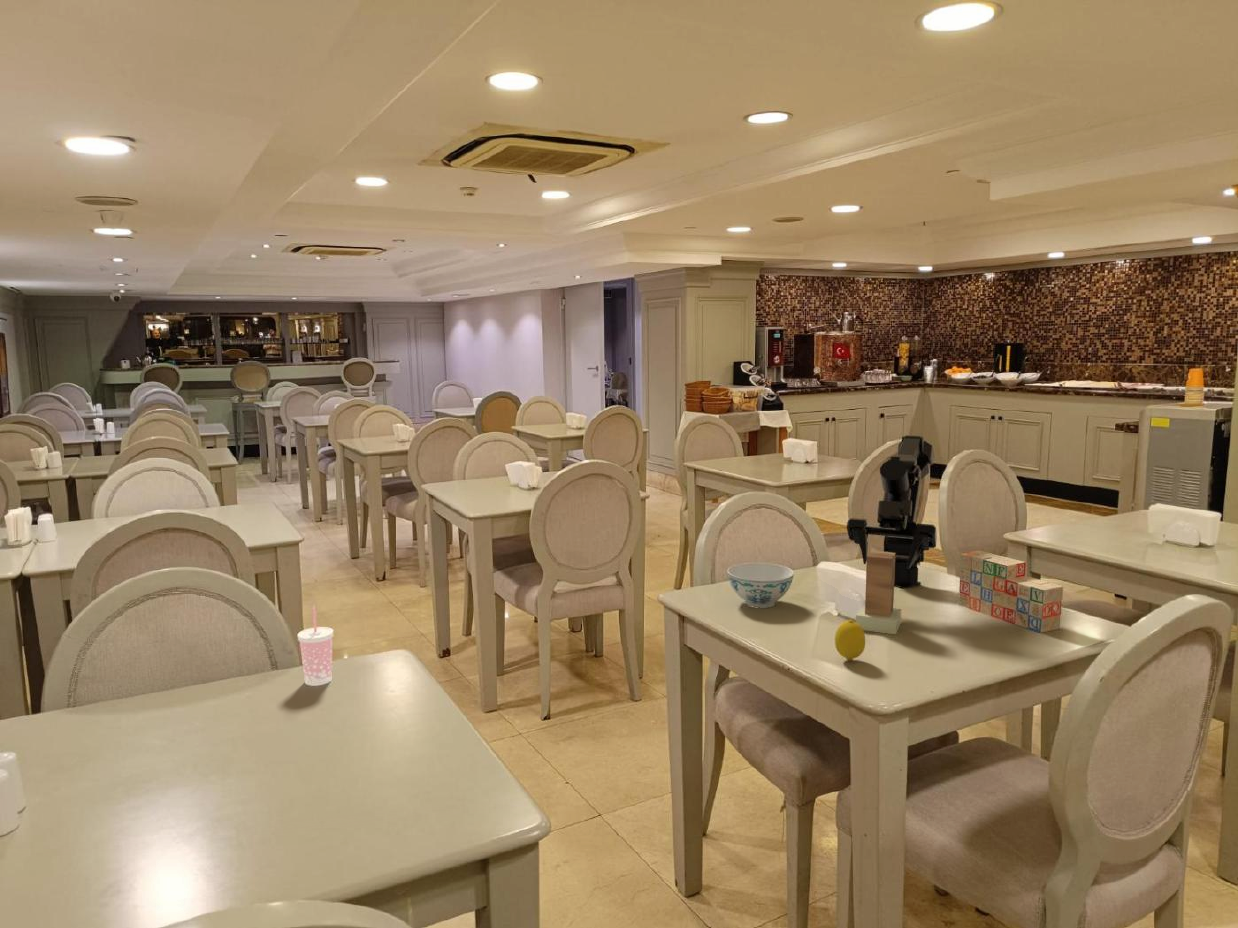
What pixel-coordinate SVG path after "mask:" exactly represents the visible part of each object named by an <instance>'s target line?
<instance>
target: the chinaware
mask: <svg viewBox="0 0 1238 928" xmlns="http://www.w3.org/2000/svg"><path fill="white" fill-rule="evenodd" d="M726 571H727V577H728V580H729V584H730V586H731V588H732V589H733V591H734V592H735V594H737V595H738V596H739V598H741V600H744V604H745V605H746V604H747V606H748V605H749V606H748V607H750V606H753V607H752V608H754V607H760V608H759V609H766V608H765V607H769V608H772V607H774V606H775V605H776V602H778V601H779V600H780V599H782V598H783V596H785V595H786V593H787V592H788V591H789V590H790V587H791V585H792V583H793V579H794V574H795V572H794V570H793V569H791V568H789V567H787V566H784V565H780V564H776V563H775V564H774V563H766V562H744V563H739V564H735V565H732V566H730V567H728V569H727V570H726ZM774 604H775V605H774ZM773 605H774V606H773ZM771 606H772V607H771Z"/></svg>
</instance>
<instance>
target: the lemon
mask: <svg viewBox="0 0 1238 928" xmlns="http://www.w3.org/2000/svg"><path fill="white" fill-rule="evenodd" d="M834 644H835V648H836V651H837V652H838V654H839V655H840V656H842V657H843V658H845V659H846V660H847V661H848V662H851V661H853V660H854V659H857V658H858V657H860V656H861V655H862V654H863V652H864V650H865V648H866V647H865V646H866V635H865V630H863V629H862V627H861V626H860V625H859V624H857V623H856V621H854V620H853V619H848V620H847V621H844V622H842V623H840V624H839V625H838V627H837V629H836V632H835V634H834Z"/></svg>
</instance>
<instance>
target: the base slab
mask: <svg viewBox="0 0 1238 928" xmlns="http://www.w3.org/2000/svg"><path fill="white" fill-rule="evenodd" d="M855 622H856V623H857V624H859V625H860V626H861V627H862V629H863V631H867V632H875V633H882V634H888V635H896V634H897V633H898V631H899V627H900V625H901V624H902V608H896V607H895V608H894V607H893V612H892V614H891V616H890V617H883V616H876V615H868V614H865V610H861V609H859V610H858V611H857V613H856V615H855Z"/></svg>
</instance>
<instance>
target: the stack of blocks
mask: <svg viewBox="0 0 1238 928" xmlns="http://www.w3.org/2000/svg"><path fill="white" fill-rule="evenodd" d="M959 561H960V566H959V593H958V606H960V607H963V608H966V609H968V610H972V611H974V612H978V613H980V614H983V615H986V616H988V615H989V616H988V617H993V618H995V619H999V620H1001V619H1002V620H1001V621H1004V620H1005V622H1008V623H1010V624H1014V625H1016V626H1019V627H1021V628H1025V629H1028V630H1030V631H1034V632H1036V633H1039V634H1040V633H1041V634H1042V633H1046V632H1050V631H1054V630H1059V629H1061V617H1062V616H1061V615H1062V602H1063V593H1064V586H1063V585H1060V584H1057V583H1053V582H1050V581H1046V580H1041V579H1040V578H1039V579H1038V578H1035V577H1031V576H1028V575H1027V576H1026V568H1027V567H1026V566H1027V564H1026V562H1025V561H1023V560H1018V559H1015V558H1011V557H1006V556H1001V555H999V554H998V555H997V554H995V553H994V554H993V553H991V552H986V551H984V550H976V551H970V552H963V553H960V560H959Z"/></svg>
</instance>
